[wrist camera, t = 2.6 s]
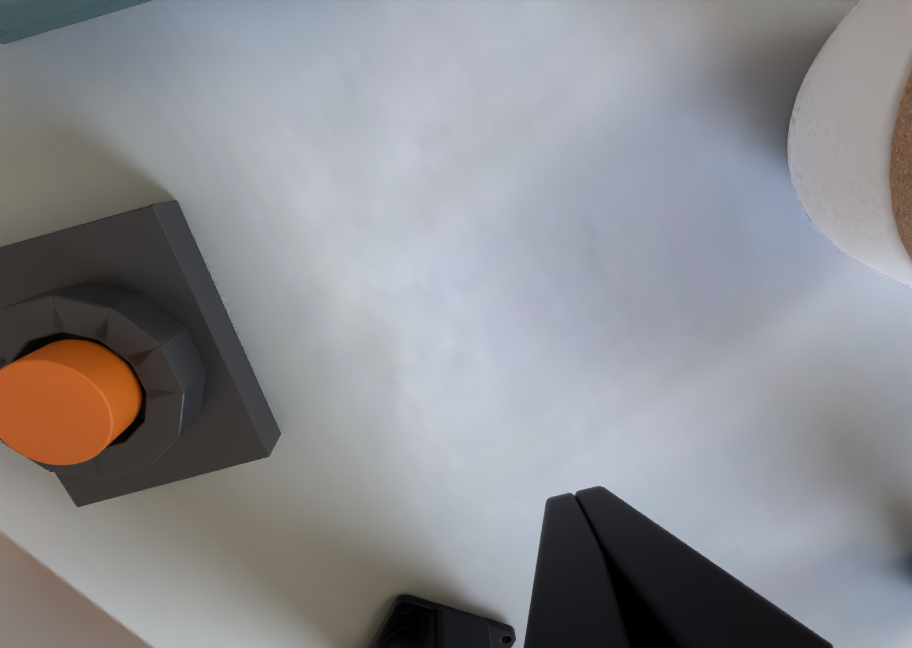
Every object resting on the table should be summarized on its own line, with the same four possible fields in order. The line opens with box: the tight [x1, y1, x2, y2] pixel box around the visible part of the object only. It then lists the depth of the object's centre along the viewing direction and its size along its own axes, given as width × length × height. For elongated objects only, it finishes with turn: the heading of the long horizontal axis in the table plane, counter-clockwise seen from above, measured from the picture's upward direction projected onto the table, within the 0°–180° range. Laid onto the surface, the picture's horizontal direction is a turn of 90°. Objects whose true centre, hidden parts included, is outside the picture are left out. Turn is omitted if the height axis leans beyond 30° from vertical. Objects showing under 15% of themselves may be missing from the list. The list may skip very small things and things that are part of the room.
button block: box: [0, 200, 281, 507], centre depth 18 cm, size 10×8×4 cm
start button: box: [0, 339, 142, 465], centre depth 16 cm, size 4×4×2 cm
